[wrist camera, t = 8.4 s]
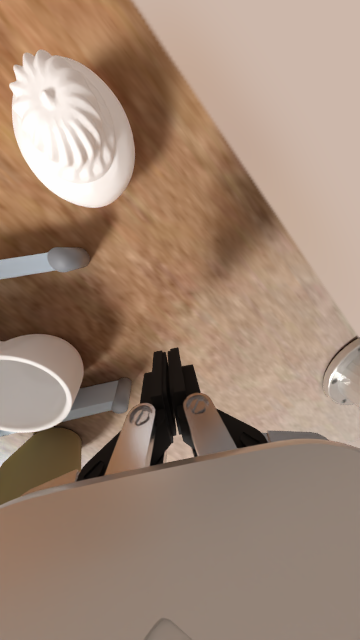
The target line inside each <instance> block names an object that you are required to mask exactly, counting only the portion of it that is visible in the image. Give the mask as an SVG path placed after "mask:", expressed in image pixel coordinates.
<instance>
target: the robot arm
mask: <svg viewBox="0 0 360 640" xmlns="http://www.w3.org/2000/svg"><path fill="white" fill-rule="evenodd" d="M170 350H171V351H168V362H167V357H166V353H165V352H162V351H156V352H154V356H153V368H152V372H149V373H145V374H144V380H143V386H142V393H141V400H140V404H138V405H136V406H135V407H133V408H132V409H131V410H130V411H129V413H128V414H127V416H126V419H125V422H124V424H123V427H122V430H121V431H120V432H119V433H118V434H117V435H116V436H115V437H114V438H113V439H112V440H111V441H110V442H109V443H108V444H106V445H105V446H104V447H103V448H102V449H101V450H100V451H99V452H98V453H97V454H96V455H95V456H94V457H93V458H92V459H91V460H90V461H88V462H87V464H86V465H85V466H84V467H83V468H82V470H80V471H78V469H76V470H73V471H71V472H69V473H67V474H64V475H62V476H60V477H57V478H55V479H53V480H51V481H48V482H46V483H44V484H41V485H39V486H37V487H35V488H32V489H30V490H29V491H27V492H25V493H24V494H22V495H21V496H20V497H18V498H16V499H13V500H11V501H9V502H7V503H4V504H2V505H0V640H360V448H357V447H354V446H351V445H347V444H344V443H340V442H335V441H329V440H328V439H327V438H325V437H324V436H322V435H320V434H317V433H312V432H292V431H267V433H261V432H260V431H258V430H257V429H255V428H253V427H252V426H250V425H248V424H246V423H244V422H242V421H240V420H238V419H236V418H234V417H232V416H230V415H228V414H226V413H224V412H222V411H220V410H218V409H216V408H215V406H214V404H213V402H212V400H211V399H210V398H209V396H207V395H206V394H203V393H200V389H199V385H198V382H197V378H196V374H195V371H194V367H193V364H192V365H187V366H181V361H180V355H179V349H178V348H173V349H170ZM323 389H324V392H325V394H326V395H327V396H328V397H329V398H330V399H331V400H332V401H334V402H335V403H337V404H340V405H353V404H355V405H356V406H358V407H359V408H360V338H358V339H356V340H354V341H353V342H351V343H350V344H349V345H347V346H346V347H345V348H344V349H343V350H341V351H340V352H339V353H338V354H337V356H336V357H335V358H334V359H333V360H332V362H331V363H330V365H329V366H328V368H327V370H326V372H325V376H324V379H323ZM175 418H176V422H177V427H178V431H179V435H180V434H182V437H183V441H184V442H185V443H186V444H188V445H189V446H191V449H192V453H193V456H194V457H193V458H188V459H183V460H178V461H173V462H168V463H166V459H167V451H166V450H167V448H168V447H169V446H170V445H171V443H173V436H175V435H176V423H175Z"/></svg>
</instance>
